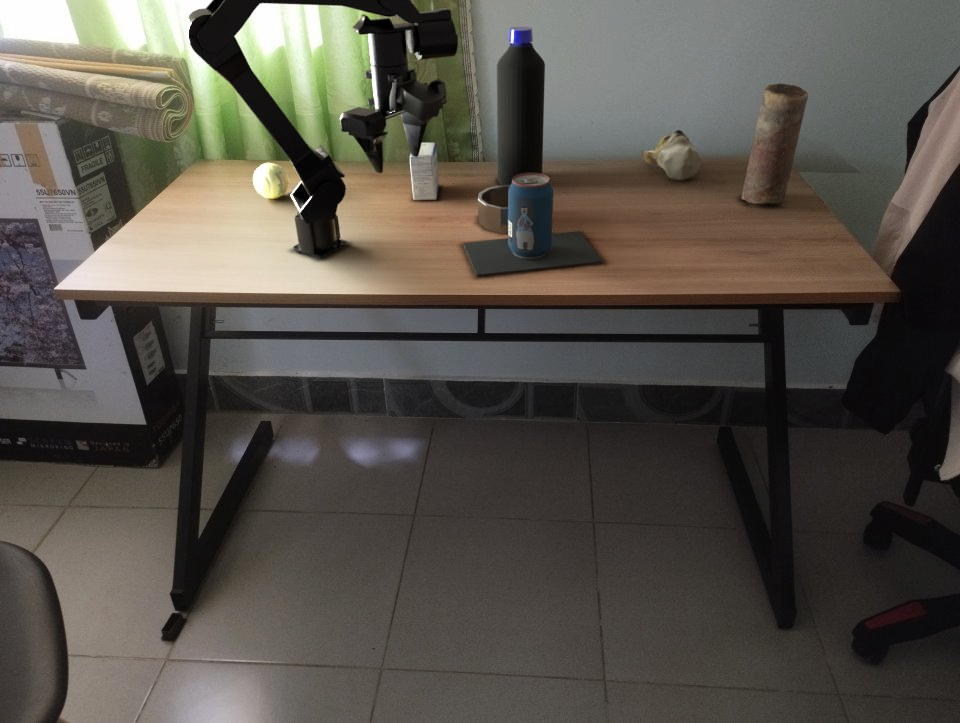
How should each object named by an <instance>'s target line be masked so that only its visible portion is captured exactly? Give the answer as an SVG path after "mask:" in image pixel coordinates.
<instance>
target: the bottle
mask: <svg viewBox="0 0 960 723" xmlns="http://www.w3.org/2000/svg"><path fill="white" fill-rule="evenodd" d="M508 34H509V35H508V42H509V46H508V48H507V50H505V52H504V53H503V54H502V56H500V58H499V59H498V60H497V63H496V126H497V127H496V128H497V131H496V132H497V137H496V140H497V142H496V143H497V147H496V148H497V149H496V150H497V182H498V183H499V184H500V185H511V183H512V179H513V177H514V176H516V175H518V174H523V173H540V174H543V158H544V157H543V156H544V155H543V153H544V119H545V118H544V116H545V83H546V82H545V79H546V78H545V77H546V76H545V75H546V63H545V61H544V59H543V57H541V55H540V54H539V52H537V51H536V49H535V48H534V45H533V43H532V42H533V28H532V27H530V26H513V27H510V28H509V31H508Z"/></svg>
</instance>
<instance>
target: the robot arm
mask: <svg viewBox="0 0 960 723" xmlns="http://www.w3.org/2000/svg"><path fill="white" fill-rule="evenodd" d="M260 4H272V5H273V4H275V5H301V6H302V5H305V6H306V5H308V6H331V7H332V6H333V7H334V6H335V7H336V6H337V7H338V6H339V7H340V6H341V7H344V8H350V9H353V10H357V11H361V12H364V13H369V14H374V15H377V16H382V17H384V18H373V19H371V18H370V17H369V15H366V14H364V13H362V14H361V15H360V18H359V20H358V21H357V22H356V23H355V24H354V25H353V26H352V31H353V32H355V33H356V34H358V35H360V36H361V35H367V45H368V54H369V64H370V69H368V70H365V71H364V74H365V79H369V80H371V85H372V86H371V87H372V94H373V95H372V96H373V97H370V98H368V99H367V103H368V106H369V107H373V108H375V109H371V108H366V107H360V106H357V107H355V108H352V109H349V110H346V111H343V112H342V114H341V115H340V117H339V123H340V131H341V132H342V133H347V135H348V136H352V137H353V138H354V140H355V141H356V142H357V144H358V145H359V146H360V148H361V150H362V151H363V152H364V154H365V156H366V157H367V159H368V161H369V162H370V164H371V166H372V168H373V169H374V171H375V172H376V173H378V174H382V173H384V153H383V141H384V139H385V138H386V136H387V135H388V133H389V132H388V131H384V130H385V129H386V127H387V120H389V119H392V118H394V117H397V116H399V115H400V117H401V121H402V124H403V129H404V132H405V136H406V140H407V144H408V148H409V152H410V155H411V154H412V156H414V157H417V156H419V152H420V148H421V144H422V143H423V139H424V136H425V132H426V130H427V129H426V128H427V125H428V124H429V122H430V121H431V120H432V119H433V118H437V117H439V114H440V111H441V110H442V109H443V107H444V106H443V105H446V104H447V103H448V100H447V87H446V82H445V81H443V80H441V79H440V78H437V79H435V80H432V81H430V82H429V84H428V82H423V83H421V81H418V79H417V72H416V71H415V68H410V67H409V56H408V51H409V53H410V54H411V55H413V54H414V55H415V57H416V59H417V60H418V61H421V60H423V61H424V60H432V59H441V58H449V57H450V58H451V57H455V56H456V55H457V53H458V48H459V47H458V46H459V36H458V33H457V31H456V27H455V26H456V25H455V23H454V21H453V18H452V11H451V9H449V8H446V7H439V8H437V9H434V10H433V9H432V10H423V11H419V10H418V7H416V6H415V5H414V3H413V2H412V0H211V1H210V2H209V4H208V5H207V6H206V7H205V8H198V9H196V10H193V11H192V12H191V13H190V14H189V15H188V16H187V18H186V20H185V22H184V24H185V25H184V33H185V35H186V36H185V37H186V39H187V41H188V43H189V45H190V47H191V49H192V51H193V52H194V53H195V54H196V55H197V56H198V57H199V58H200V59H201V60H203V61H204V63H206V64H207V65H208V66H209V67H210V68H211V69H212V70H213V71H215V73H217V74H218V75H219V76H220V77H221V78H223V79H224V80H225V81H226V82H227V83H228V84H230V85H231V87H232V88H233V89H234V90H235V91H236V93H237V94H238V95H239V97H240V98H241V100H242V101H243V102H244V103H245V105H246V106H247V107H248V108H249V109H250V111H251V112H252V114H254V116H255V118H256V119H257V120H258V121H259V123H260V124H261V125H262V126H263V127H264V129H265V130H266V131H267V133H268V134H269V135H270V137H271V138H272V140H274V141H275V143H276V144H277V145H278V147H279V148H280V149H281V151H282V152H283V153H284V154H285V156H286V158H288V159H289V161H290V163H291V165H292V167H293V170H294V171H295V173H296V175H297V177H298V178H299V181H300V182H299V183H298V184H297V185H296V187H295V188H294V189H293V191H292V192H291V193H290V196H289V197H290V199H291V200H292V202H293V204H294V205H295V207H296V209H297V213H296V214H295V215H294V216H293V218H294V225H295V230H296V235H297V242H298V243H297V244H296V245H294V246H292V250H293V251H294V252H298V253H302V254H305V255H307V256H311V257H315V258H318V259H322V258H324V257H326V256H328V255H331V254H332V253H334V252H336V251H338V250H340V249H341V248H343V247H346V246H347V245H348V242H347V241H346V240H343V239H341V231H340V222H339V215H338V214H337V210H338V206H339V205H340V203H342V201H343V200H344V198H345V196H346V191H347V186H346V183H345V182H344V180H343V178H345V177H346V175H345V174H344V172H343V171H342V169H340V167H339V166H338V165H337V163H336V162H334V161H333V158H332V157H331V155H330V154H329V152H328V151H327V150H326V149H325V147H324V146H323V145H322V144H321V145H319V146H318V147H317V148H316V149H314V148H313V147H312V146H311V145H310V144H308V142H306V141H305V139H304V138H303V136H302V135H301V134H300V132H299V131H298V129H296V126H294V125H293V123H292V122H291V120H290V119H289V118H288V117H287V115H286V114H285V112H284V111H283V109H282V108H281V107H280V106H279V105H278V103H277V102H276V100H275V99H274V98H273V96H272V94H270V92H269V91H268V89H266V87H265V86H264V84H263V83H262V82H261V80H260V79H259V78H258V76H257V75H256V74H255V72H254V71H253V69H252V68H251V65H250V64H249V62H248V60H247V58H246V56H245V54H244V52H243V49H242V47H241V46H240V44H239V42H238V40H237V38H236V35H237V34H238V33H239V32H240V31H241V30H242V29H243V27H244V26H245V24H246V23H247V21H248V20H249V18H250V17H251V16H252V14H253V13H254V11H255V10H256V9H257V8H258V7H259V5H260ZM385 17H386V18H385ZM391 17H396V18H398V19H400V20H403V21H405V22H403V23H393V22H392V20H391V19H390V18H391Z"/></svg>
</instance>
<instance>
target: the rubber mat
mask: <svg viewBox="0 0 960 723" xmlns="http://www.w3.org/2000/svg"><path fill="white" fill-rule="evenodd" d="M462 245H463V248H464V250H465V253H466V255H467V257H468V260H469V262H470V264H471V266H472V269H473V271H474V273H475V275H476V277H477V278H480V277H490V276H499V275H510V274H516V273H517V274H518V273H526V272H527V273H528V272H535V271H545V270H555V269H564V268H570V267H571V268H572V267H580V266H590V265H600V264H603V260H602V258H601V257H600V256H599V255H598V253H597V252H596V251H595V249H594V248H593V247H592V246H591V244H590V243H589V241H588V240H587V239H586V238H585V237H584V235H583V234H582V233H581V231H580V230H575V231H565V232H557V233H552V245H551V248H550V249H549V251H548V252H547V254H546V255H544V256H543V257H540V258H535V259H525V258H520V257H517V256H515V255H514V254H513V252H512V251H511V249H510V247H509V245H508V237H507V238H498V239H488V240H479V241H468V242H463V243H462Z"/></svg>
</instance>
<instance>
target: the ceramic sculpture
mask: <svg viewBox="0 0 960 723" xmlns="http://www.w3.org/2000/svg"><path fill="white" fill-rule="evenodd" d="M640 152H641V158H642V159H643V160H644V161H645V162H646V163H647V164H650V165H654V166H658V167H660V168H661V169H663V170H664V172H665V174H666V176H667V177H668V178H669V179H670V180H676V181H685V180H688V179H691V178H693V177H694V176H695V175H696V174H697V173H698V171H699V169H700V167H701V164H702V160H703V159H702V158H701V155H700V153H699V151H698V150H697V149H696V148H695V146H694V145H693V144H692V142H691V141H690V138H689V136H688V135H687V134H686V133H684V132H683V131H682V130H681V129H678V130H676V131H675V132H674V133H670V134H666V135H664V136H662V137H661V139H660V140H659V142H658V143H657V146H656V148H655V149H652V150H643V149H642V150H640Z"/></svg>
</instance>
